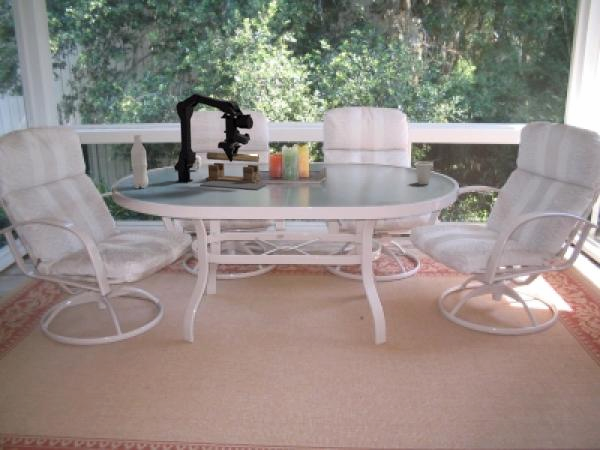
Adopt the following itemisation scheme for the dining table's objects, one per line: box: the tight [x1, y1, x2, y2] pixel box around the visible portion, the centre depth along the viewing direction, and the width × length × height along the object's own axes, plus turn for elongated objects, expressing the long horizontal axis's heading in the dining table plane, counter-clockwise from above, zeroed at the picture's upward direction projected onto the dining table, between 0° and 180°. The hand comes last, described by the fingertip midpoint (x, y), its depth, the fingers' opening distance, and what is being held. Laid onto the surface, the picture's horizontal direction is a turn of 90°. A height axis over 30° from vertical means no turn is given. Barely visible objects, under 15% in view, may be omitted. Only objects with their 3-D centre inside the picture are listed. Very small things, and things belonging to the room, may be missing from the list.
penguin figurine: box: [191, 154, 202, 172], centre depth 329 cm, size 6×8×12 cm
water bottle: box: [130, 134, 149, 190], centre depth 283 cm, size 7×7×25 cm
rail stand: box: [205, 162, 263, 184], centre depth 300 cm, size 9×27×8 cm, turn 71°
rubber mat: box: [200, 181, 267, 191], centre depth 290 cm, size 11×30×1 cm, turn 71°
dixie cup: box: [415, 161, 433, 185], centre depth 293 cm, size 8×8×10 cm
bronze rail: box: [206, 151, 260, 163], centre depth 286 cm, size 4×26×4 cm, turn 71°
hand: (232, 161), depth 287 cm, fingers closed on bronze rail, 3 cm apart
